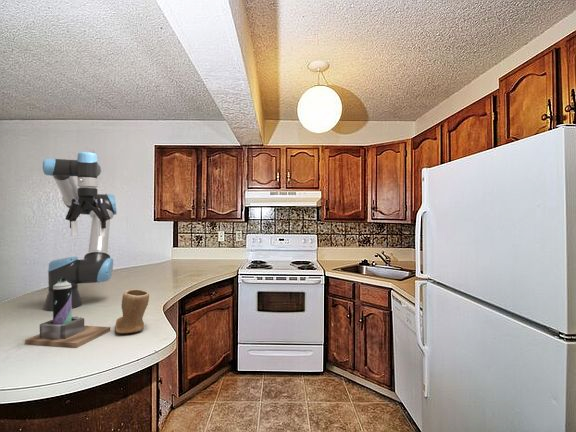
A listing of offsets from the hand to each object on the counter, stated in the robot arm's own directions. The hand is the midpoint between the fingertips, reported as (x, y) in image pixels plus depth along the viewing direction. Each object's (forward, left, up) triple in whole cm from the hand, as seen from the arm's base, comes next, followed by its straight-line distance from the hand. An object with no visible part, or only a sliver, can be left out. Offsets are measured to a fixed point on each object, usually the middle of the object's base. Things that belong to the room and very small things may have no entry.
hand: (87, 236), depth 146 cm
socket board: (+14, -25, -35) cm, 45 cm away
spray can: (+12, -26, -33) cm, 44 cm away
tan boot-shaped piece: (+31, -13, -35) cm, 48 cm away
